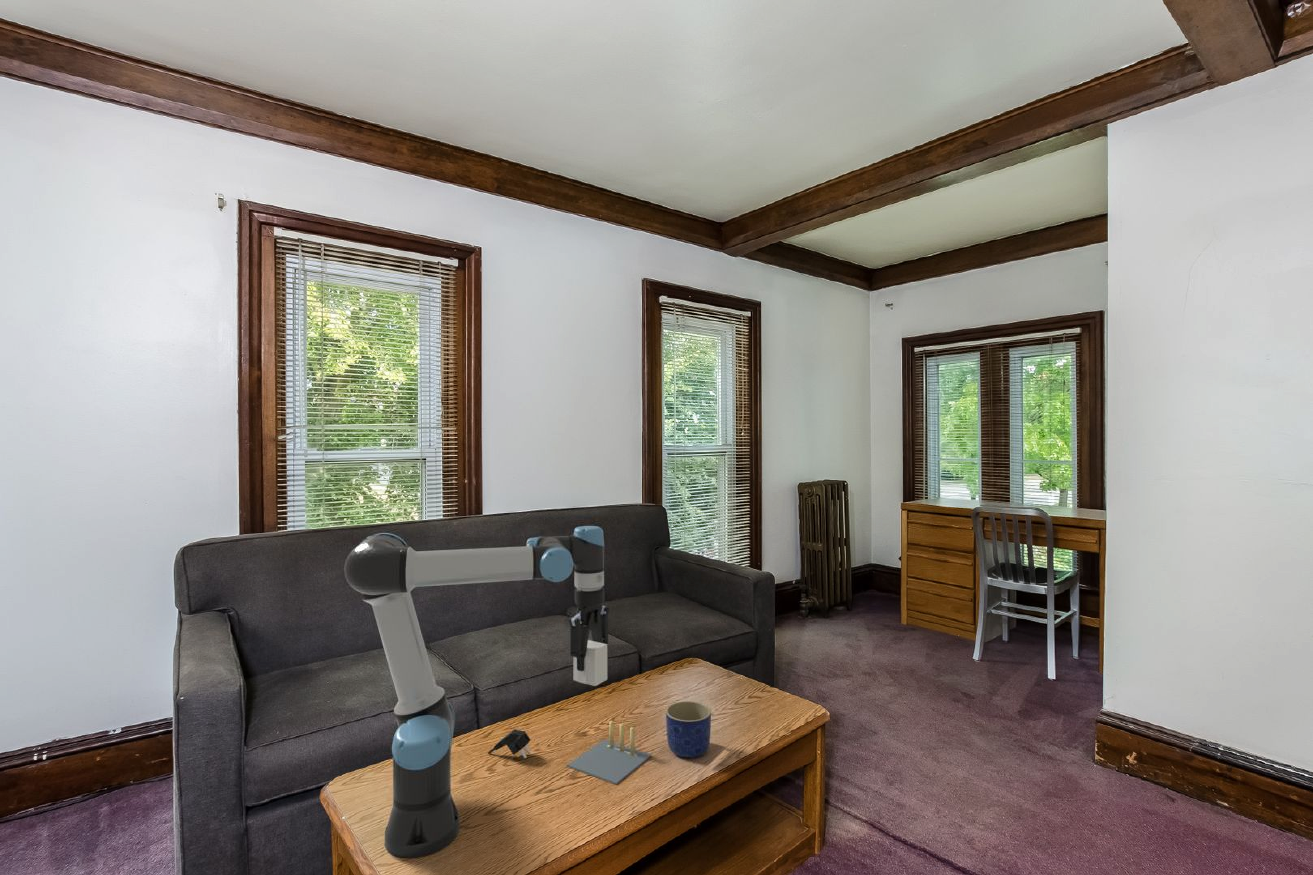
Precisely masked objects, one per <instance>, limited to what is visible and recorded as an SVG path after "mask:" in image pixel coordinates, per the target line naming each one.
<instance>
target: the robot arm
mask: <svg viewBox="0 0 1313 875" xmlns="http://www.w3.org/2000/svg"><path fill="white" fill-rule="evenodd" d="M573 531H574V532H573V534H570V535H562V536H560V535H558V536H538V537H537V536H536V537H529V538H528V539H527V541H526V546H507V547H488V548H487V547H486V548H485V547H484V548H483V547H482V548H463V549H462V548H461V549H442V550H440V549H439V550H422V551H421V550H420V551H419V550H418V551H416V550H414V548H412V546H408V544H407V543H406V542H405V540H404V539H403V538H401V537H400V536H399V535H396V534H394V533H388V532H380V533H376V534H373V535H369V536H367V537H366V538H365V539H362V540H361V542H360V543H359V544H358V545H357V546H355V547H354V548H353V549H352V550H351V551H350V553H349V554H348V555H347V557H346V560H345V563H344V567H343V569H344V570H343V571H344V577H345V579H346V582H347V584H349V586H350V587H351V588H352V589H353V590H354V591H356V592H358V593H360V595H361V598H362V599H361V600H362V601H363V602H365V603H367V604H370V605H371V608H372V610H373V611H372V612H373V615H374V618H375V620H376V625H377V628H378V632H379V635H380V639H381V640H380V641H381V643H382V646H383V650H384V653H385V654H384V655H385V657H386V661H387V664H388V668H389V671H390V675H391V678H392V681H393V686H394V689H395V692H396V697H397V699H398V701H397V703H396V705H395V706H394V708H393V712H394V716H395V720H396V723H397V727H398V728H397V729H396V731H395V733H394V736H393V739H392V745H391V753H392V768H393V769H392V777H393V778H392V780H393V781H392V782H393V783H392V786H393V787H392V788H393V790H392V791H393V792H392V796H393V797H392V800H393V801H392V802H393V804H392V808H391V812H390V814H389V819H388V823H387V825H386V828H385V829H384V830H385V831H384V847H385V850H386V851H387V853H388V854H391V855H392V856H394V857H397V858H402V859H414V858H421V857H425V856H428V855H431V854H434V853H436V852H438V851H440V850H442V849H444V848H446V847H447V846H448V845H449V844H451V843H452V842H453V841H454V840H455V839H456V837H457V835H458V834H459V831H460V816H459V815H460V814H459V811H458V809H457V807H456V803H455V800H454V798H453V796H452V792H451V789H452V788H451V782H452V781H451V779H452V778H451V758H452V757H451V756H452V747H453V738H454V737H453V735H454V731H455V726H456V724H455V722H456V715H455V711H454V708H453V707H452V705H451V703H450V701H448V699H447V698H448V697H447V695H446V691H445V689H444V688H443V687H441V686H438V685H437V683H436V680H435V677H434V673H433V670H432V666H431V663H430V658H429V654H428V652H427V647H426V644H425V641H424V638H423V634H422V631H421V627H420V626H421V625H420V622H419V619H418V615H417V612H416V609H415V604H414V601H413V597H412V594H411V591H413V589H415V588H417V587H418V588H419V587H433V586H434V587H435V586H447V585H449V586H451V585H452V586H453V585H465V584H468V585H469V584H481V583H482V584H485V583H496V582H497V583H499V582H512V581H514V582H515V581H527V580H547V581H549V582H553V583H561V582H563V581H565V580H567V579H568V578H569V576H570V575H571V574H572V572H573V568H574V581H573V582H574V583H573V584H574V587H575V589H574V603H575V604H576V606H577V608H576V609H577V610H576V615H574V616H570V617H569V618H568V623H569V625H570V626H569V627H570V657H572V658H573V657H576V658H577V670H578V681H577V683H580V684H585V685H588V684H587V683H588V657H586V650H587V643H588V640H589V637H590V636H589V635H590V632H591V638H592V641H595V642H599V643H604V644H607V645H609V611H610V607H609V606H605V605H603V604H604V602H605V588H604V586H605V540H604V539H605V538H604V530H603V529H602V527H600V526H597V525H583V526H577V527H575V528H574V530H573ZM581 652H582V653H581Z"/></svg>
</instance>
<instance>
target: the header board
mask: <svg viewBox="0 0 1313 875" xmlns="http://www.w3.org/2000/svg"><path fill="white" fill-rule="evenodd" d="M608 723H609V725H608V726H609V733H608V734H609V737H608V738H609V740H608V739H602V740H601V741H599V742H598V743H596V744H595V745H593V746H591V748H589V749H588V750H587V751H586V752H583V753H581V755H579V756H578V757H576V758H575V759H574V760H572V761H570V762H569V763H568V764H566V767H567V768H570V769H573V770H576V771H578V772H581V773H584V774H586V775H589V776H592V777H594V778H596V779H600V780H602V781H605V782H607V783H610V784H613V785H618V784H619V783H620V782H622V781H623V780H624V779H625V778H627V777H628V776H629V775H630V774H631V773H632V772H634V771H635V770H637V768H639V767H641V765H643V764H644V763H645V762H646V761H647V760H649V759H650V758H651V757H652V754H650V753H648V752H644V751H641V750H638V749H636V748H635V746H636V744H635V737H636V736H635V727H633V726H631V727H630V728H629V741H630V742H629V743H630V744H629V746H626V745H625V725H624V723H621V724H619V743H617V742H615V741H614V740H615V728H614V727H615V725H614V720H610V721H609V722H608Z"/></svg>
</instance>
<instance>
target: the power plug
mask: <svg viewBox="0 0 1313 875" xmlns="http://www.w3.org/2000/svg"><path fill="white" fill-rule="evenodd" d="M531 740H532V739H531V738H530V736H529V735H528V734H527V732H526V731H525V730H518V729H515V728H514V729H513V730H511V731H510V732H509V733H508V734H506V735H505V736H504V737H503V738H501V739H500V741H498V742H497V743H496V744H495V745H494V746H493V748H491V749H490V750H488V752H487V754H488V755H490V754H492V753H494V752H495V751H498V750H500V749H502V748H503V747H505V746H507V748H508V749H509V751H510V752H511V754H512V755H513V756H514V755H516V754H517V753H520V754H521V755H522V757H523V759H527V757H528V756H527V755H526V753H527V754H529V755H530V754H531V750H530V749H529V747H528V746H527V745H529V743H530V741H531ZM523 749H525V751H526V753H525V752H524V750H523Z"/></svg>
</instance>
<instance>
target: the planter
mask: <svg viewBox="0 0 1313 875" xmlns="http://www.w3.org/2000/svg"><path fill="white" fill-rule="evenodd" d="M711 721H712V710H711V708H710V707H709V706H708V705H706V704H704V703H702V702H699V701H690V700H689V701H688V700H685V701H677V702H674V703H672V704H670V705H669V706H667V708H666V709H665V724H666V726H665V727H666V738H667V739H666V740H667V745H668V747H669V750H670V751H671V752H672V753H673V754H674V755H676V756H679V757H681V758H685V759H687V758H689V759H693V758H697V757H700V756H702V755H704V754H705V753H706V752H707V751H708V750H709V747H710V741H711V730H712V729H711V728H712V726H711V725H712V724H711V723H712V722H711Z"/></svg>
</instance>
